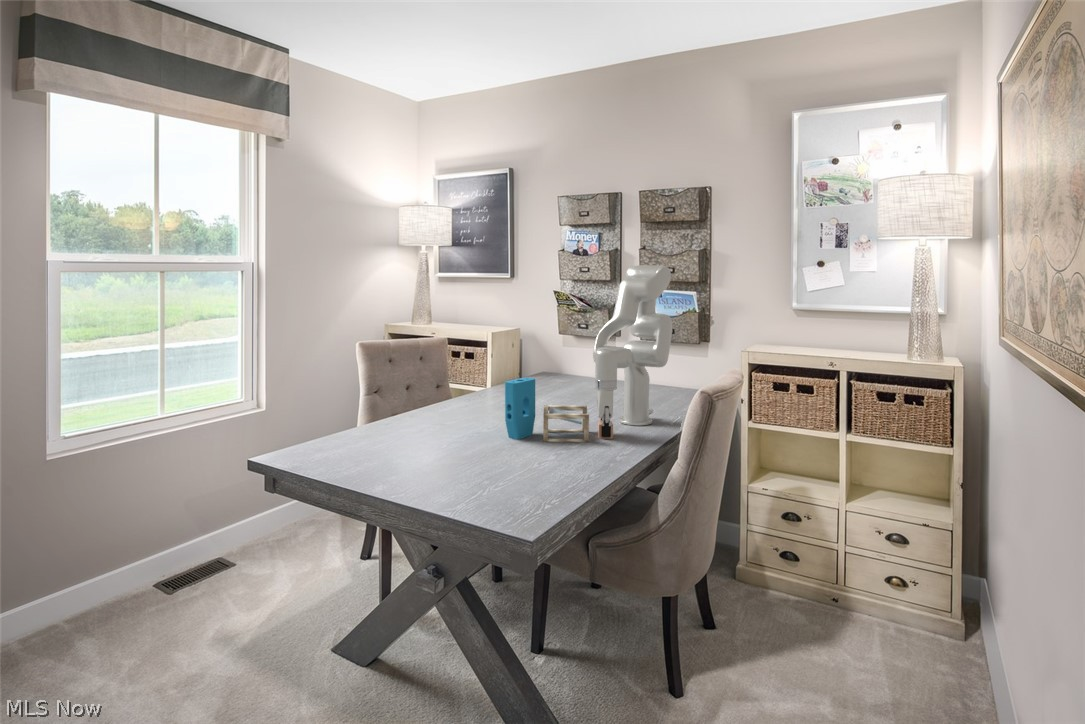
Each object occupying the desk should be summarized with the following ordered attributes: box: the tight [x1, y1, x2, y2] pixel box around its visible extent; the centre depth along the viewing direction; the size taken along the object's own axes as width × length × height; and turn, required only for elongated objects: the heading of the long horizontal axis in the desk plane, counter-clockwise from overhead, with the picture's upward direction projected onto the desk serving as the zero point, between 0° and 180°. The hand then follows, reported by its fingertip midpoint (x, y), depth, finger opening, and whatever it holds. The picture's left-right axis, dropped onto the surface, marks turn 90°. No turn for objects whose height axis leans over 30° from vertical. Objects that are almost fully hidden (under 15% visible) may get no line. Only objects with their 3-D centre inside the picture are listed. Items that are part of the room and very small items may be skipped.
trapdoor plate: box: [548, 407, 582, 425], centre depth 224 cm, size 12×10×1 cm
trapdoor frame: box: [542, 405, 590, 443], centre depth 225 cm, size 16×14×10 cm
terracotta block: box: [597, 420, 614, 439], centre depth 225 cm, size 5×5×5 cm
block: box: [504, 377, 536, 440], centre depth 224 cm, size 12×5×20 cm, turn 143°
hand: (605, 434), depth 225 cm, fingers open, 6 cm apart
